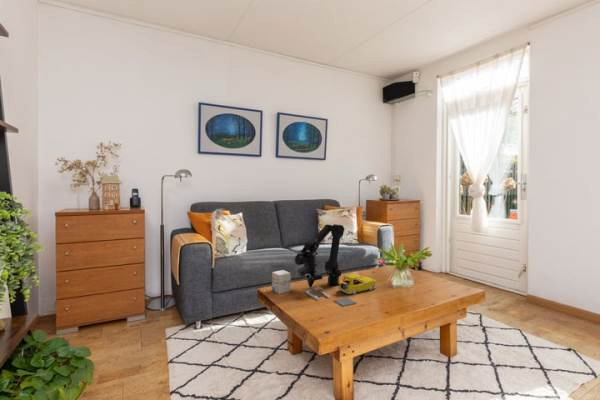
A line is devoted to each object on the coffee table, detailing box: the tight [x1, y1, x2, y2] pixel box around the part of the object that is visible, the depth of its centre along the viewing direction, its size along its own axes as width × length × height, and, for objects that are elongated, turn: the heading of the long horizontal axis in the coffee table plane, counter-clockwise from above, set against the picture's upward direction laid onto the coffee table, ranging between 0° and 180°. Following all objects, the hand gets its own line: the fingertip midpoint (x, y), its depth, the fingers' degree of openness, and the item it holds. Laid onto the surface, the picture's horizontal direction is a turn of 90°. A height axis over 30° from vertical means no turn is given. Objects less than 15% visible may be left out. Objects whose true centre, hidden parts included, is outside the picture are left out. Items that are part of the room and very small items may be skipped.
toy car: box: [338, 273, 377, 295], centre depth 199 cm, size 12×25×10 cm, turn 122°
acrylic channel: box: [305, 289, 330, 301], centre depth 189 cm, size 8×14×1 cm, turn 28°
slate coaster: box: [333, 297, 357, 307], centre depth 178 cm, size 9×9×1 cm
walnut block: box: [310, 285, 324, 298], centre depth 189 cm, size 4×6×4 cm
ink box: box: [271, 269, 292, 295], centre depth 196 cm, size 9×8×12 cm
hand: (310, 287), depth 196 cm, fingers closed
